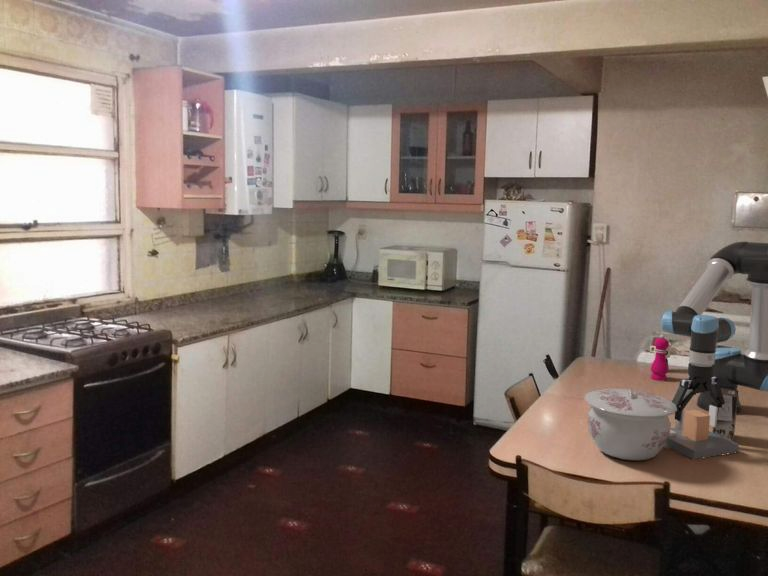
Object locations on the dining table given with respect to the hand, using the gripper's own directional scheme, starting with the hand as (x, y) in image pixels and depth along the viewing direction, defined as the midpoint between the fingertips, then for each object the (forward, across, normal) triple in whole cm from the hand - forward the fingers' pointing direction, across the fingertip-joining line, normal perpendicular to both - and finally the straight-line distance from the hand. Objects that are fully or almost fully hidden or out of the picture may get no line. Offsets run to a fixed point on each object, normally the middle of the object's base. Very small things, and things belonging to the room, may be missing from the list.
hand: (695, 427), depth 220 cm
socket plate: (+6, 0, 0) cm, 6 cm away
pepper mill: (+6, +46, +68) cm, 82 cm away
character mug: (+6, +57, +79) cm, 98 cm away
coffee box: (+6, +15, +3) cm, 17 cm away
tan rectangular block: (+6, 0, 0) cm, 6 cm away
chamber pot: (+6, -25, +2) cm, 26 cm away
